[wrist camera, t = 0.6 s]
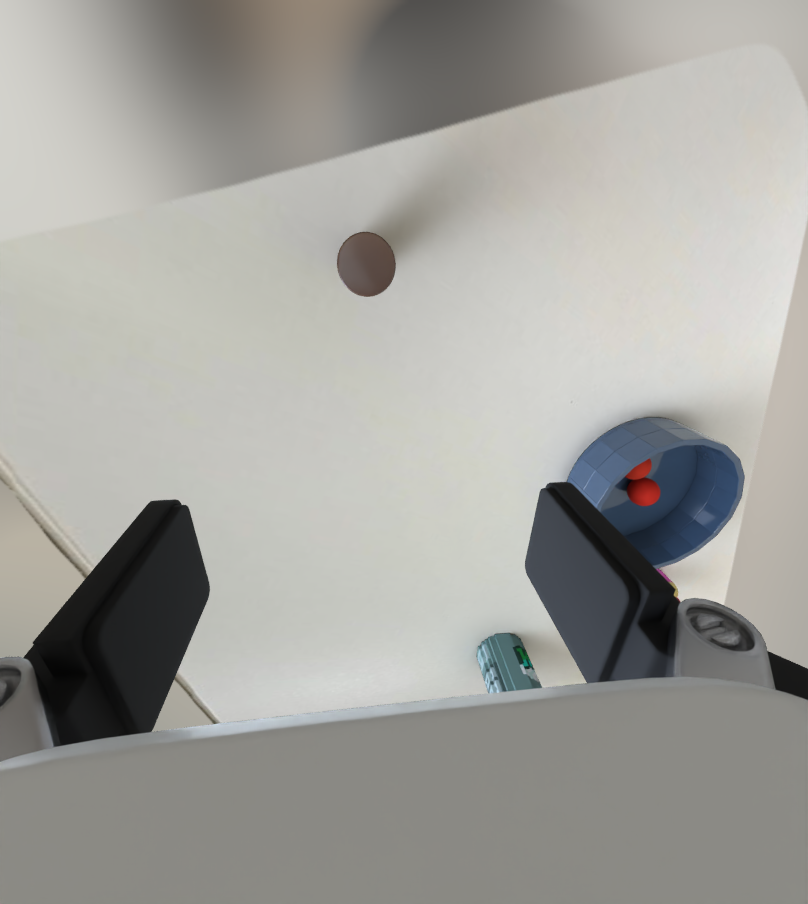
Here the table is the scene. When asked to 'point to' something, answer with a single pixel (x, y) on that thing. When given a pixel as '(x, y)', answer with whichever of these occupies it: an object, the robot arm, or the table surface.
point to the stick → (366, 264)
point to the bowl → (662, 486)
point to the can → (506, 664)
